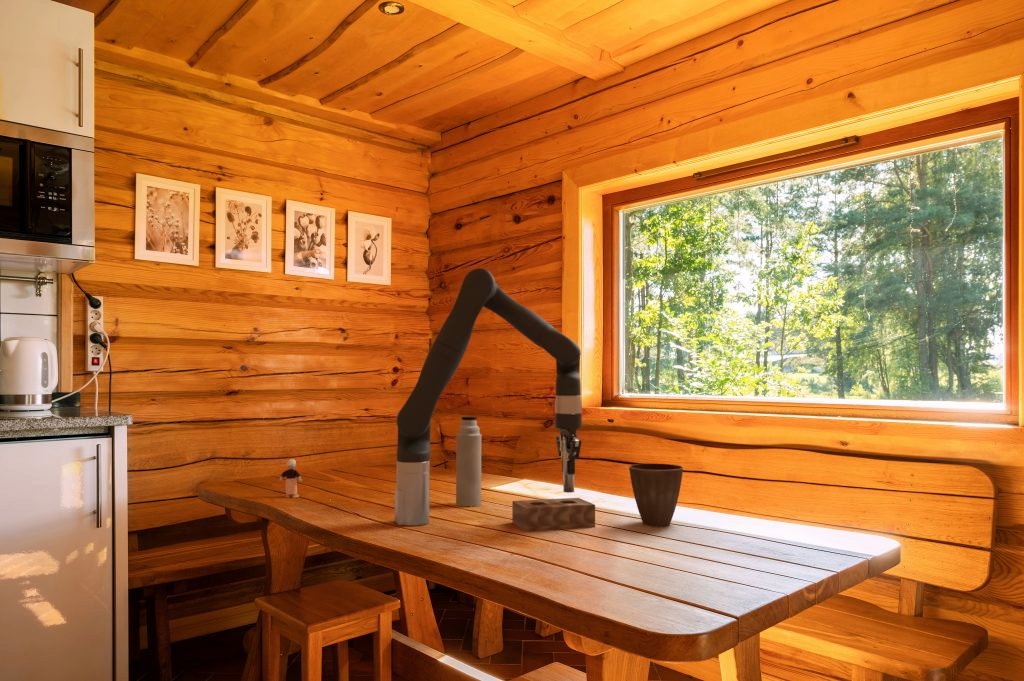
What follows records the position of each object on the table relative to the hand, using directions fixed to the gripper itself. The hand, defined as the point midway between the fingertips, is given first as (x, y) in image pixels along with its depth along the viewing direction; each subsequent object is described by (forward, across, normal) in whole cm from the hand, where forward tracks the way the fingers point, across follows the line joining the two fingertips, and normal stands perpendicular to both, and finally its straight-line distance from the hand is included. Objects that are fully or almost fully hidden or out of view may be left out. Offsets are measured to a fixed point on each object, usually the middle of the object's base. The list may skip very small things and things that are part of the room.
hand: (568, 473), depth 211 cm
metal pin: (+5, 0, 0) cm, 5 cm away
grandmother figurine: (+14, -68, -74) cm, 101 cm away
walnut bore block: (+14, 0, -5) cm, 15 cm away
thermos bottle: (+14, -37, -20) cm, 44 cm away
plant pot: (+14, +7, +23) cm, 28 cm away
